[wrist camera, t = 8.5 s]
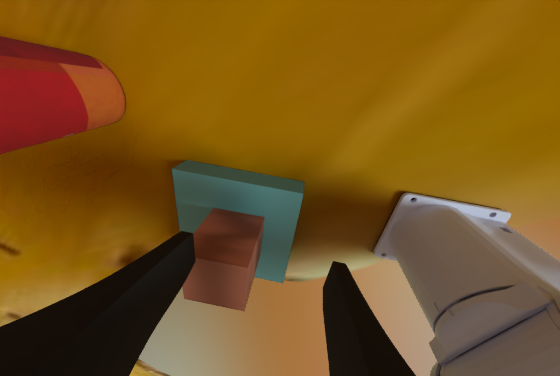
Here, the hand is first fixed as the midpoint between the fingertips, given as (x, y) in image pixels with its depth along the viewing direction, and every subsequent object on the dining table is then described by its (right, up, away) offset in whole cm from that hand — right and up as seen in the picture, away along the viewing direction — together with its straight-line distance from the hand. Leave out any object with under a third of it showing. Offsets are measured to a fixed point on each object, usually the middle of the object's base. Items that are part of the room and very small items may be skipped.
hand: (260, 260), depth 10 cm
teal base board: (-3, 0, +13) cm, 13 cm away
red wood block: (-3, -1, +10) cm, 10 cm away
